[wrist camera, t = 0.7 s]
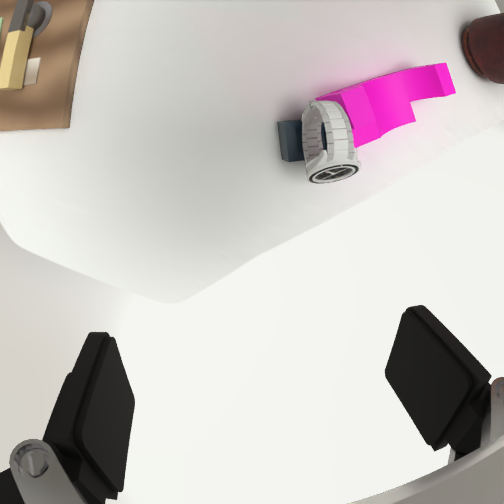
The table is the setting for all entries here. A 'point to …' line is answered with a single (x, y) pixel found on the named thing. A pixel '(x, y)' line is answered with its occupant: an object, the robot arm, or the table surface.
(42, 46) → the wooden lever switch board
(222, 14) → the table surface
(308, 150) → the watch
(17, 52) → the lever handle
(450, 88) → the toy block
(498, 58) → the vase
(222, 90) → the table surface
